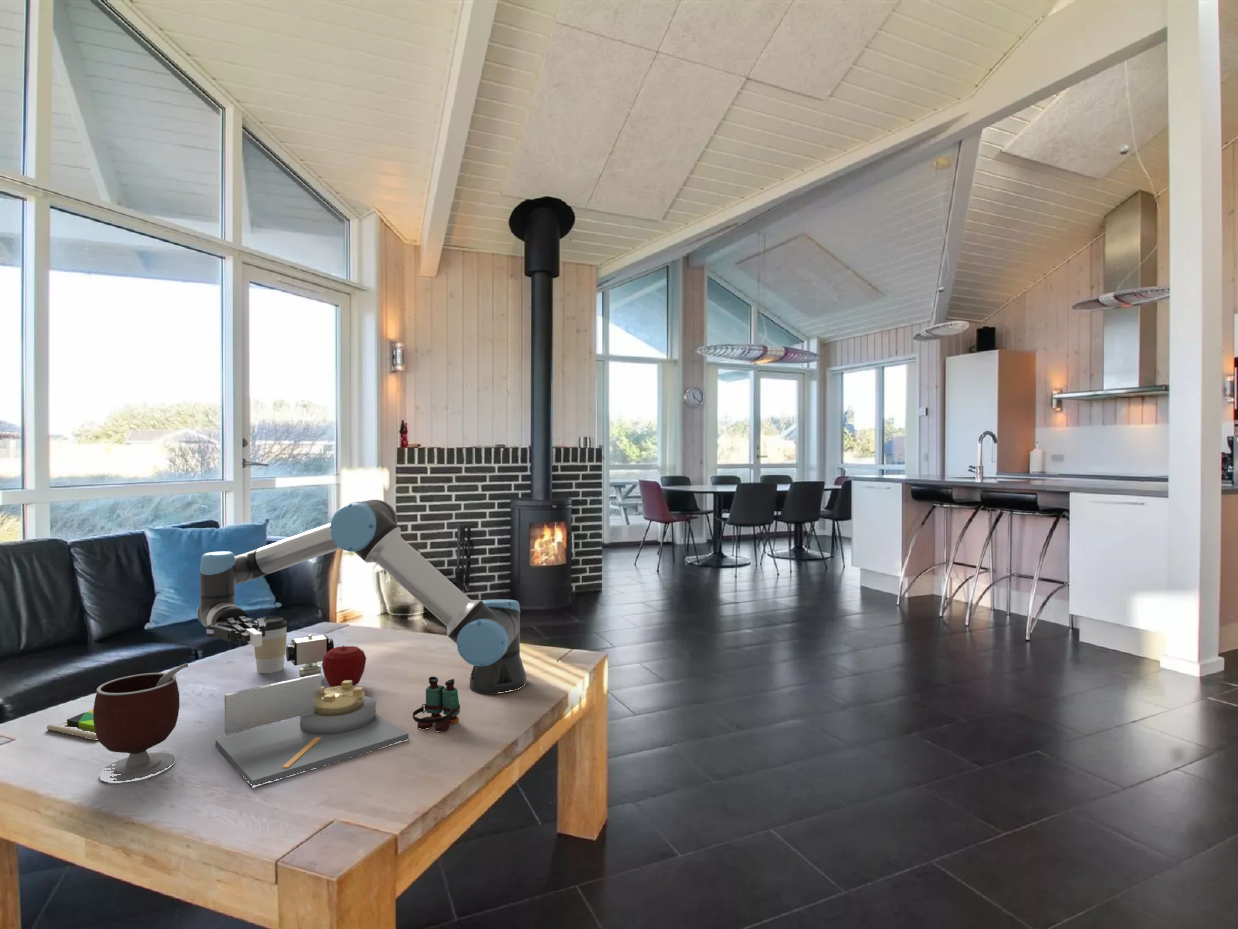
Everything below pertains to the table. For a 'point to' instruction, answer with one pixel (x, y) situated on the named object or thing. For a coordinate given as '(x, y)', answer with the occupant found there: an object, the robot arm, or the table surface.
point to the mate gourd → (137, 720)
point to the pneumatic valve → (308, 653)
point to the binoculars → (439, 706)
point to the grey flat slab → (307, 743)
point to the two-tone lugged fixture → (289, 702)
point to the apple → (343, 665)
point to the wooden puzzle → (78, 725)
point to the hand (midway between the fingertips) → (258, 640)
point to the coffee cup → (272, 646)
